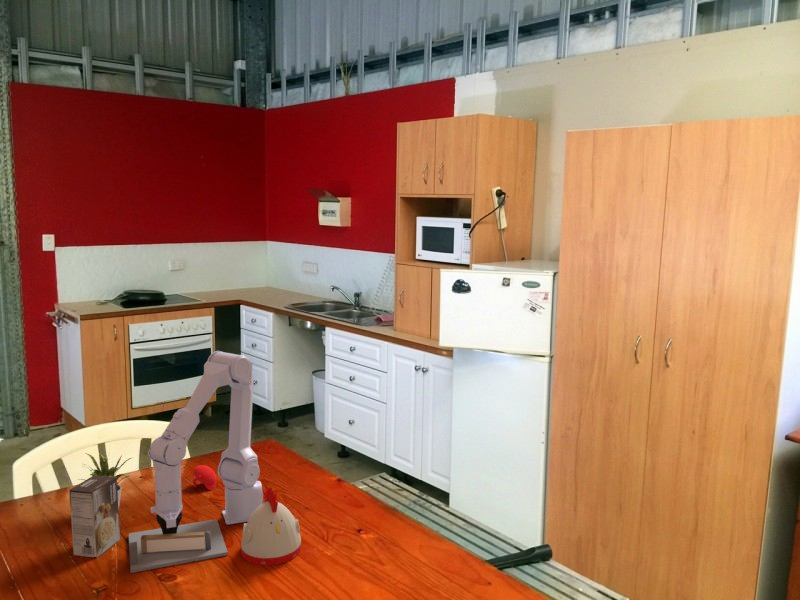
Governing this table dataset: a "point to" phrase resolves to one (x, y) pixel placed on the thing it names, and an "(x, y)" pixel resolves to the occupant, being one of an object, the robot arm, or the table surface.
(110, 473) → the house plant
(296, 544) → the kitchen timer
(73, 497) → the coffee box
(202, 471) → the cap
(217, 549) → the frame
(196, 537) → the tan wooden bar
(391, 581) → the table surface
